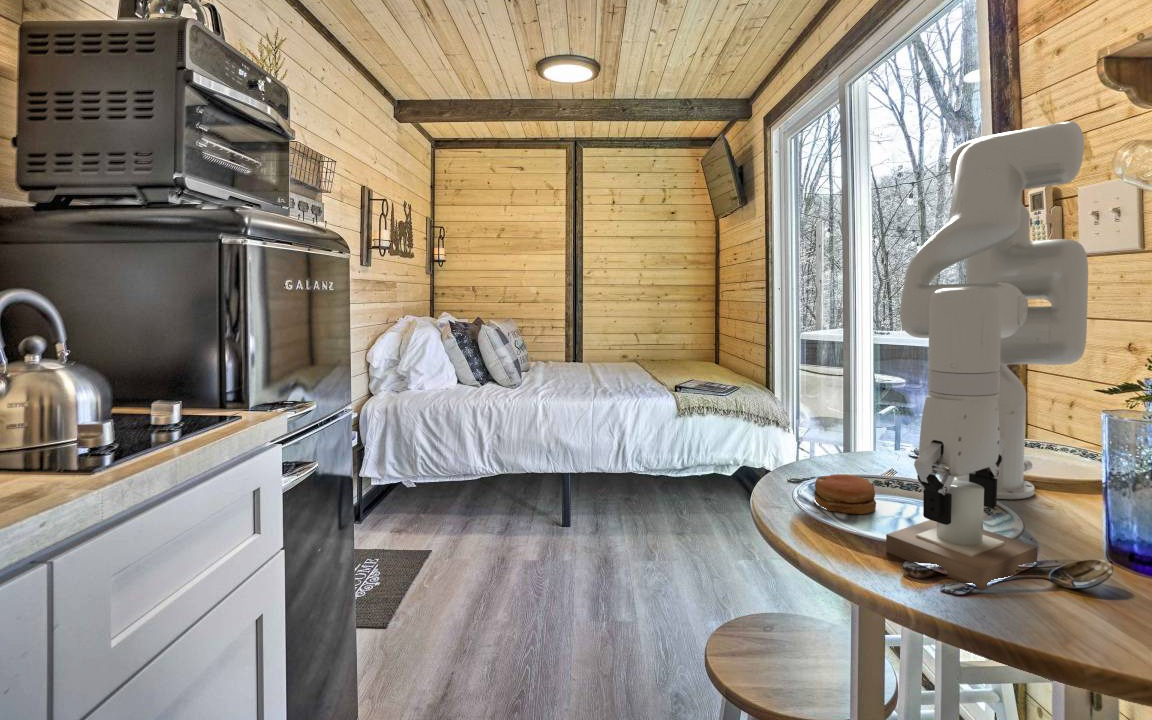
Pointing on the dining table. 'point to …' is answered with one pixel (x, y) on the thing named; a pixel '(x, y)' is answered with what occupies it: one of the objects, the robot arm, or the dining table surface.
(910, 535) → the walnut base
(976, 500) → the ceramic cylinder
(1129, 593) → the dining table surface
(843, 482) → the burger
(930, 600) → the dining table surface
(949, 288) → the robot arm
